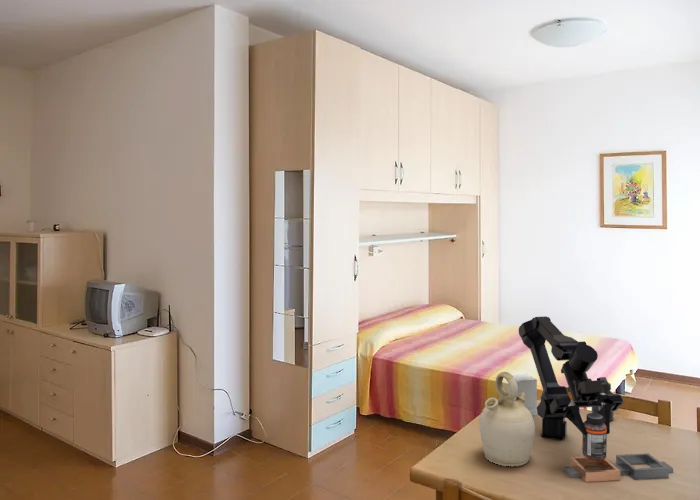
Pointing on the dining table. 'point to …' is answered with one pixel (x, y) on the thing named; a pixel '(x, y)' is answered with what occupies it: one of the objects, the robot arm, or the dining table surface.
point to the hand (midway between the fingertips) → (597, 434)
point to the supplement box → (527, 391)
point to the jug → (507, 426)
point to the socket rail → (618, 468)
